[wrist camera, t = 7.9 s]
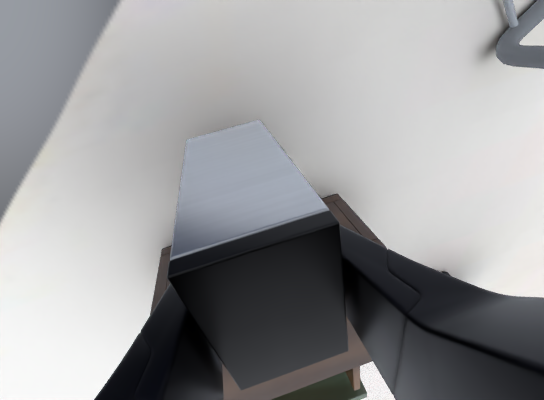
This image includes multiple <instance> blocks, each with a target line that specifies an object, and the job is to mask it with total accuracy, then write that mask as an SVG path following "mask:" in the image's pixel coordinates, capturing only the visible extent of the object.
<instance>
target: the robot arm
mask: <svg viewBox="0 0 544 400" xmlns="http://www.w3.org/2000/svg"><path fill="white" fill-rule="evenodd" d="M340 235H341V249H342V263H343V277H344V291H345V305H346V316H347V318H348V319H349V321H350V323H351V325H352V326H353V328H354V330H355V331H356V333H357V335H358V336H359V338H360V340H361V342H362V343H363V345H364V347H365V348H366V350H367V352H368V353H369V355H370V357H371V359H372V360H373V362H374V364H375V365H376V367H377V369H378V370H379V372H380V374H381V375H382V377H383V379H384V381H385V382H386V384H387V386H388V387H389V389H390V391H391V392H392V394H393V395H394V398H395V399H396V400H544V298H539V297H517V296H508V295H503V294H498V293H494V292H491V291H487V290H485V289H482V288H479V287H477V286H474V285H472V284H469V283H467V282H464V281H462V280H459V279H456V278H454V277H451V276H450V275H449V274H448V273H447V272H444V273H441V272H439V271H436V270H434V269H431V268H429V267H427V266H424V265H422V264H419V263H417V262H415V261H413V260H410V259H408V258H406V257H404V256H402V255H400V254H398V253H396V252H394V251H392V250H390V249H388V250H387V248H386V247H384V246H382V245H380V244H378V243H376V242H374V241H372V240H370V239H368V238H366V237H364V236H362V235H360V234H358V233H356V232H354V231H352V230H350V229H348V228H346V227H344V226H342V225H340ZM94 400H224V395H223V369H222V361H221V360H220V358H219V357H218V355H217V354H216V352H215V351H214V349H213V348H212V346H211V345H210V343H209V342H208V340H207V339H206V337H205V336H204V334H203V332H202V331H201V329H200V328H199V326H198V325H197V323H196V322H195V320H194V319H193V317H192V316H191V314H190V313H189V311H188V310H187V308H186V307H185V305H184V304H183V302H182V301H181V299H180V297H179V296H178V294H177V293H176V291H175V290H174V288H173V287H172V285H171V284H169V286H168V288H167V289H166V291H165V292H164V294H163V296H162V297H161V299H160V301H159V302H158V304H157V305H156V307H155V309H154V310H153V312H152V314H151V315H150V317H149V318H148V320H147V322H146V323H145V325H144V326H143V328H142V330H141V333H139V334H138V336H137V338H136V339H135V341H134V342H133V344H132V346H131V347H130V349H129V350H128V352H127V353H126V355H125V356H124V358H123V360H122V361H121V363H120V364H119V366H118V367H117V368H116V370H115V371H114V373H113V374H112V376H111V377H110V378H109V380H108V381H107V383H106V384H105V386H104V387H103V388H102V390H101V391H100V392H99V394H98V395H97V397H96V398H95V399H94Z"/></svg>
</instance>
